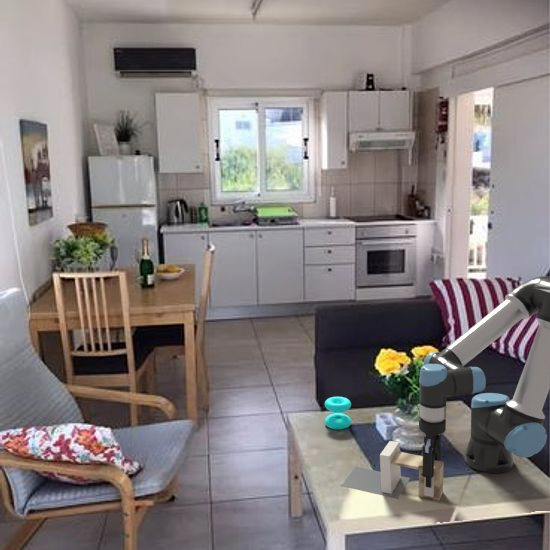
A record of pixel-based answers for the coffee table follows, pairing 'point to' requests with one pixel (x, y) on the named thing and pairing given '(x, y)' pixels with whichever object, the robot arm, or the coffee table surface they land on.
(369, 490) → the board
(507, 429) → the robot arm
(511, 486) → the coffee table surface
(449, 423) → the coffee table surface
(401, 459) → the wooden bridge
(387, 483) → the tile
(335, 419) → the donuts
